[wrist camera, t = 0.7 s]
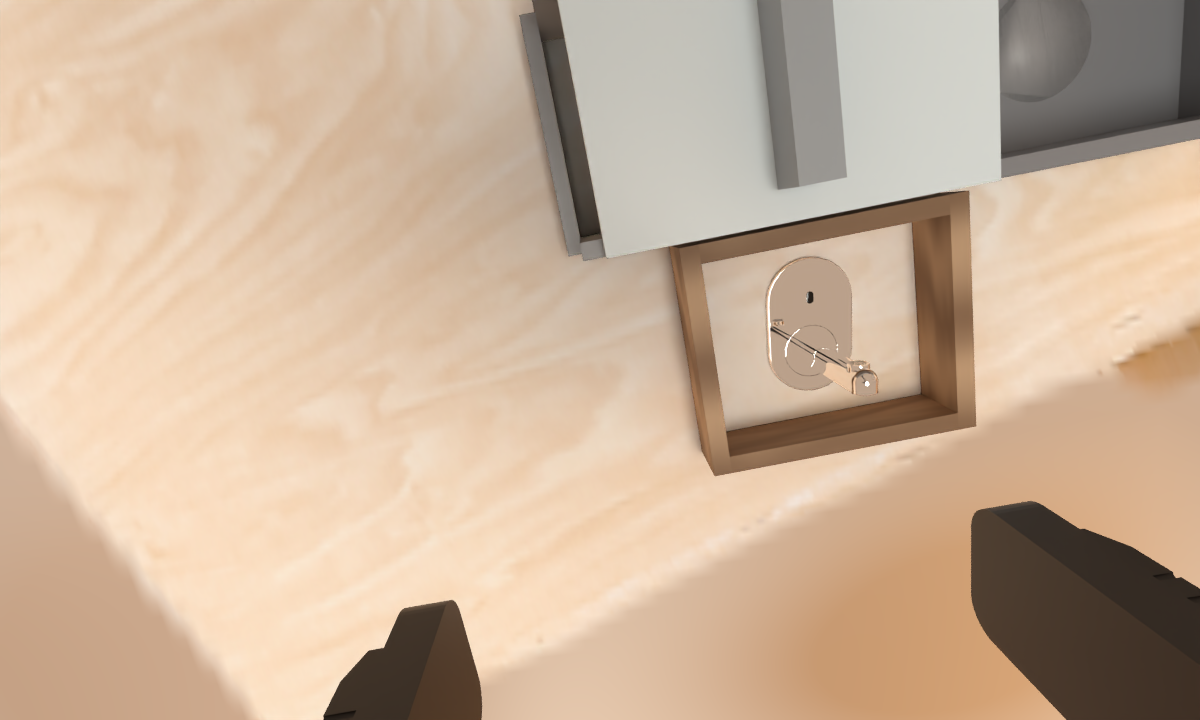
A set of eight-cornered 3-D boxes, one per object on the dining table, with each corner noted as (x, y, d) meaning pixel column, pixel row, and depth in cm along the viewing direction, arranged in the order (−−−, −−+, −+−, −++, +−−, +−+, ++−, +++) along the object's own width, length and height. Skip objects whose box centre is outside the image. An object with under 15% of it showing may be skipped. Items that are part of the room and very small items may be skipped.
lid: (548, -46, 22) (542, -91, 19) (979, -136, 22) (1048, -198, 18) (605, 257, 25) (609, 263, 22) (986, 181, 25) (1047, 176, 21)
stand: (848, 252, 33) (848, 383, 35) (763, 262, 33) (769, 392, 35) (925, 262, 26) (920, 427, 28) (816, 275, 26) (819, 439, 28)
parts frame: (669, 245, 32) (679, 248, 29) (928, 193, 32) (969, 190, 29) (702, 451, 36) (714, 476, 32) (938, 406, 35) (975, 426, 32)
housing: (523, 28, 30) (504, -34, 22) (1186, -109, 29) (1389, -219, 22) (569, 254, 32) (565, 264, 25) (1173, 133, 32) (1347, 109, 25)
